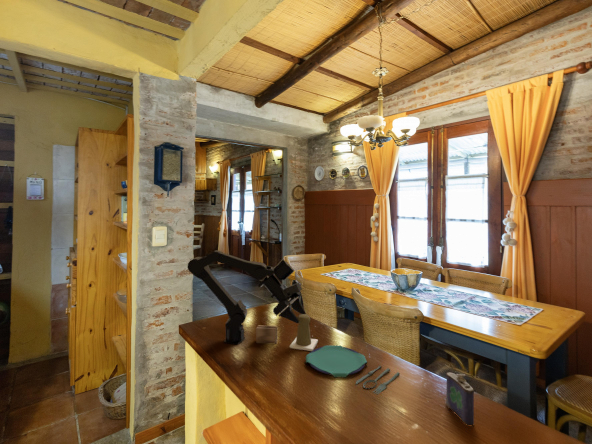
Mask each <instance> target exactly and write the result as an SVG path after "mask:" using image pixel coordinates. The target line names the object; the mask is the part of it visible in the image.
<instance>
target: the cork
mask: <svg viewBox="0 0 592 444" xmlns="http://www.w3.org/2000/svg"><path fill="white" fill-rule="evenodd" d="M296 317H297V318H298V320H299V323H297V330H296V331H297V334H296V337H297V339H296V344H297V345H300V346H308V345H310V344H311V339H312V338H311V328H310V323H311V317H310V315H308V314H307V313H306V314H298V316H296Z"/></svg>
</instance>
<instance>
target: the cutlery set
mask: <svg viewBox="0 0 592 444" xmlns="http://www.w3.org/2000/svg"><path fill="white" fill-rule="evenodd" d="M305 364H309V365H310V367H312V368H313V369H314V370H315V371H317V372H319V373H323V374H326V375H331V376H333V378H334V377H335V378H347V377H348V375H354V374H356V373H358V372H361V371H362V370H363V368H365V365H367V364H368V361H367V359H366V356H365V355H364V354H362V353H360V352H358V351H356V350H354V349H352V348H349V347H346V346H342V345H338V344H337V345H335V344H334V345H327V344H325V345H324V346H320V347H318V348H317V347H316V348H314V349H313V351H309V353H308V354H306V356H305ZM379 369H382V366H381V365H379V366H377V368H375V369H373V370H370V371H369V372H368V371H367V374H364V375H363V376H362V377H361V378H359V379H357V380H356V382H355V385H358V383H359V384H360V383H361V382H363V381H364V380H365V379H367V378H369V377H372V375H373V374H375V373H374V372H376V371H377V370H379ZM390 371H391V368H389V367H387V368H386V369H385V370H384V371H382V372H381V373H380V374H379V375H378V376H377V377H376V378H375V379H368V380H366V381H364V383H362V384H363V385H362V387H363V388H365V387H366V384H368V383H374V382H375V383H376V384H375V383H374V384H375V385H374V386H372V387H366V388H365V389H367V390H368V389H369V390H370V388H371V389H373V388H376V389H375V390H373V391H372V394H375V395H379V394H380V393H382V392H383V391H384V390H386V389H387V385H389V384H390V382H391V383H392V382H393V381H394V380H396V378H398V377H399V376H400V372H399V371H398V372H396V373H395V374H394V375H393V376H392V377H391V378H390V379H388V380H387V381H385V382H383V383H380V384H379V385H378V382H377V381H378V380H379V379H381V378H382V377H383V376H384V375H387V373H389V372H390ZM367 382H368V383H367ZM364 385H365V386H364ZM377 385H378V386H377ZM376 386H377V387H376ZM375 391H376V392H375Z"/></svg>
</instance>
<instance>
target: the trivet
mask: <svg viewBox="0 0 592 444" xmlns="http://www.w3.org/2000/svg"><path fill="white" fill-rule="evenodd" d="M296 339H297V336H296V337H295V338H294V340H292V342H291V344H290V345H289V349H294V350H295V349H296V350H301V351H303V350H304V351H309V352H312V351H313V350H314V349H316V348H315V347H316V346H317V344H318V342H319V339H316V338H311V344H310V345H308V346H300V345H297V344H296Z"/></svg>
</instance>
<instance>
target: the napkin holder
mask: <svg viewBox="0 0 592 444" xmlns="http://www.w3.org/2000/svg"><path fill="white" fill-rule="evenodd" d="M255 330H256V331H255V333H256V334H255V335H256V336H255V337H256V339H255V342H256V344H271V345H276V344H277V343H278V326H277V325H259V324H258V325H257V327H256V329H255Z"/></svg>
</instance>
